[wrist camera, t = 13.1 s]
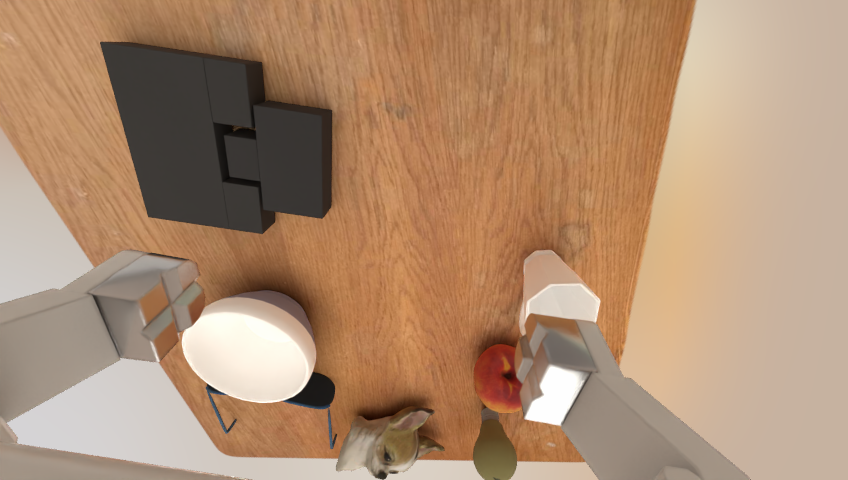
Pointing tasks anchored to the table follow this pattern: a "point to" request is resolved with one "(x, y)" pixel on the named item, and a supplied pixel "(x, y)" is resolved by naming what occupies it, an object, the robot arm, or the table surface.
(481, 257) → the table surface
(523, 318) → the cup
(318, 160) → the black stepped block
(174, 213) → the base pad
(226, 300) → the bowl
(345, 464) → the ceramic sculpture
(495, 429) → the light bulb
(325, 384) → the sunglasses
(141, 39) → the table surface
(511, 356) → the fruit
